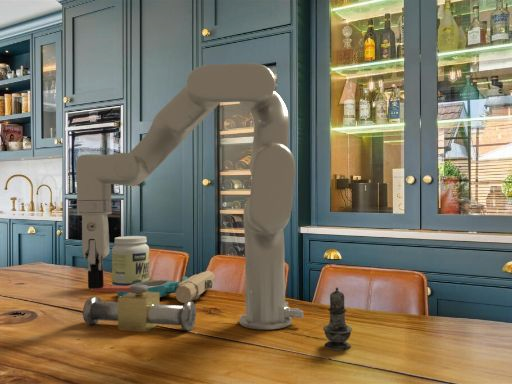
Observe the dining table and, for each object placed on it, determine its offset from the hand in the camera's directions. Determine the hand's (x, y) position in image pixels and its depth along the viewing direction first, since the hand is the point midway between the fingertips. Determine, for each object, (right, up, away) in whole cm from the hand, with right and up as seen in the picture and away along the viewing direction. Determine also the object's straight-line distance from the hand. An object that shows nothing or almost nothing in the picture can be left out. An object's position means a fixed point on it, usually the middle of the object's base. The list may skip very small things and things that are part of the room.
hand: (96, 287), depth 106 cm
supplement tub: (-5, -10, +47) cm, 49 cm away
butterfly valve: (+9, -10, +33) cm, 35 cm away
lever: (+5, -2, +3) cm, 6 cm away
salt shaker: (+54, -10, -13) cm, 56 cm away
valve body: (+9, -10, +3) cm, 14 cm away
